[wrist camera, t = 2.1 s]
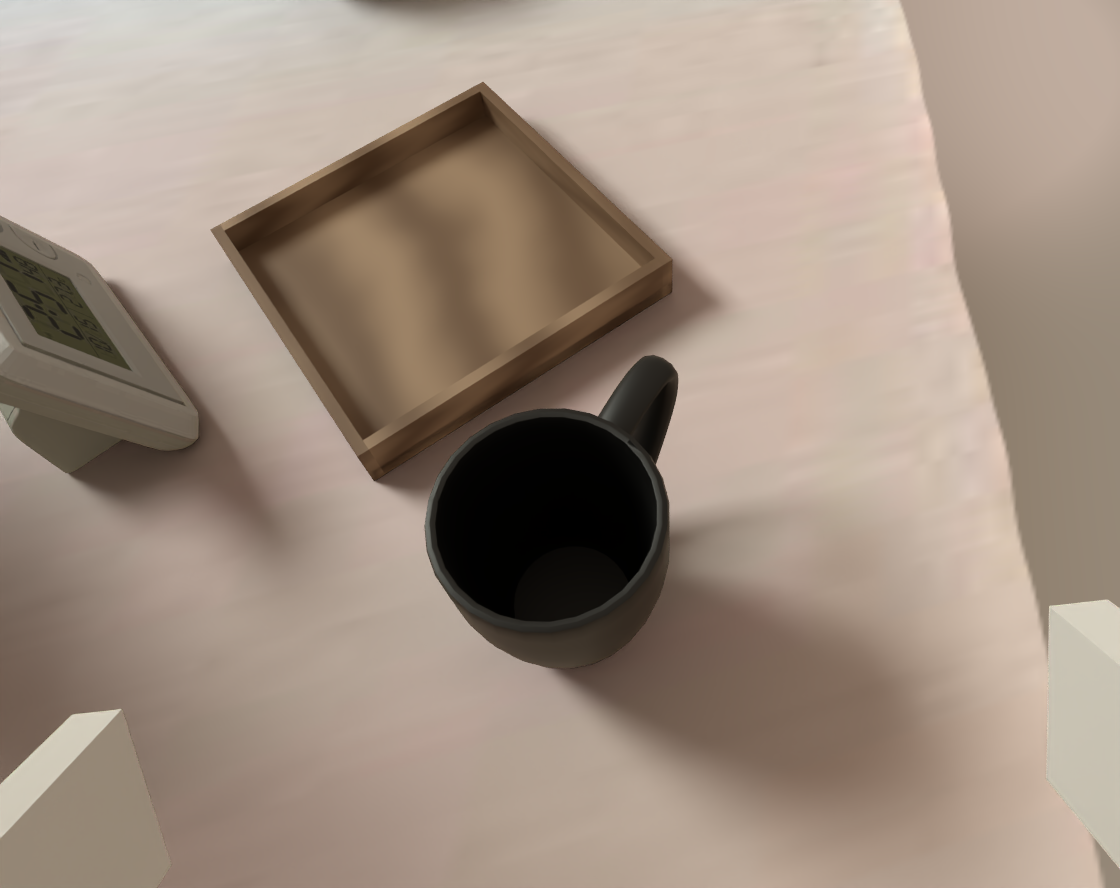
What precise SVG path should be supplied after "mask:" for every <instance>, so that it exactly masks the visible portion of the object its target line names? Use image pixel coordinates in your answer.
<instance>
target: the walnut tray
mask: <svg viewBox="0 0 1120 888" xmlns="http://www.w3.org/2000/svg"><path fill="white" fill-rule="evenodd" d="M211 232H212V233H213V235H214V236H215V238H216V239H217V241H218V242H219V244H220V245H221V247H222V249H223V250H224V252H225V253H226V255H227V256H228V258H229V259H230V261H231V262H232V264H233V266H234V267H235V269H236V270H237V272H238V273H239V275H240V276H241V278H242V279H243V281H244V282H245V284H246V286H247V287H248V289H249V290H250V292H251V293H252V295H253V296H254V298H255V299H256V301H257V303H258V304H259V306H260V307H261V309H262V310H263V312H264V313H265V315H266V316H267V318H268V320H269V321H270V323H271V324H272V326H273V327H274V329H275V330H276V332H277V333H278V335H279V336H280V338H281V340H282V341H283V343H284V344H285V346H286V347H287V349H288V350H289V352H290V353H291V355H292V357H293V358H294V360H295V361H296V363H297V364H298V366H299V367H300V369H301V370H302V372H303V374H304V375H305V377H306V378H307V380H308V381H309V383H310V384H311V386H312V387H313V389H314V390H315V392H316V394H317V395H318V397H319V398H320V400H321V401H322V403H323V404H324V406H325V407H326V409H327V411H328V412H329V414H330V415H331V417H332V418H333V420H334V421H335V423H336V424H337V426H338V428H339V429H340V431H341V432H342V434H343V435H344V437H345V438H346V440H347V441H348V443H349V444H350V446H351V448H352V449H353V451H354V452H355V454H356V455H357V457H358V458H359V460H360V461H361V463H362V464H363V466H364V467H365V468H366V470H367V471H368V473H369V474H370V476H371V477H372V479H373V480H374V481H375V480H377V479H378V478H380V477H382V476H383V475H385V474H386V473H388V472H389V471H391V470H393V469H394V468H396V467H397V466H399V465H400V464H402V463H404V462H405V461H407V460H408V459H410V458H411V457H413V456H415V455H416V454H418V453H419V452H421V451H423V450H424V449H426V448H427V447H429V446H430V445H432V444H434V443H435V442H437V441H438V440H440V439H441V438H443V437H445V436H446V435H448V434H449V433H451V432H452V431H454V430H456V429H457V428H459V427H460V426H462V425H463V424H465V423H467V422H468V421H470V420H471V419H473V418H474V417H476V416H478V415H479V414H481V413H482V412H484V411H485V410H487V409H489V408H490V407H492V406H493V405H495V404H496V403H498V402H500V401H501V400H503V399H504V398H506V397H507V396H509V395H511V394H512V393H514V392H515V391H517V390H518V389H520V388H522V387H523V386H525V385H526V384H528V383H529V382H531V381H533V380H534V379H536V378H537V377H539V376H540V375H542V374H544V373H545V372H547V371H548V370H550V369H551V368H553V367H555V366H556V365H558V364H559V363H561V362H562V361H564V360H566V359H567V358H569V357H570V356H572V355H573V354H575V353H577V352H578V351H580V350H581V349H583V348H584V347H586V346H588V345H589V344H591V343H592V342H594V341H595V340H597V339H599V338H600V337H602V336H603V335H605V334H606V333H608V332H610V331H611V330H613V329H614V328H616V327H618V326H619V325H621V324H622V323H624V322H625V321H627V320H629V319H630V318H632V317H633V316H635V315H636V314H638V313H640V312H641V311H643V310H644V309H646V308H647V307H649V306H651V305H652V304H654V303H655V302H657V301H658V300H660V299H662V298H663V297H665V296H666V295H668V294H669V293H671V292H672V259H671V258H670V257H669V256H668V255H667V254H666V253H665V252H664V251H663V250H662V249H661V248H660V247H659V246H658V245H656V244H655V243H654V242H653V241H652V240H651V239H650V238H649V237H648V236H647V235H646V234H645V233H644V232H643V231H642V230H640V229H639V228H638V227H637V226H636V225H635V224H634V223H633V222H632V221H631V220H630V219H629V218H628V217H627V216H626V215H624V214H623V213H622V212H621V211H620V210H619V209H618V208H617V207H616V206H615V205H614V204H613V203H612V202H611V201H610V200H609V199H607V198H606V197H605V196H604V195H603V194H602V193H601V192H600V191H599V190H598V189H597V188H596V187H595V186H594V185H593V184H591V183H590V182H589V181H588V180H587V179H586V178H585V177H584V176H583V175H582V174H581V173H580V172H579V171H578V170H577V169H576V168H574V167H573V166H572V165H571V164H570V163H569V162H568V161H567V160H566V159H565V158H564V157H563V156H562V155H561V154H560V153H558V152H557V151H556V150H555V149H554V148H553V147H552V146H551V145H550V144H549V143H548V142H547V141H546V140H545V139H544V138H542V137H541V136H540V135H539V134H538V133H537V132H536V131H535V130H534V129H533V128H532V127H531V126H530V125H529V124H528V123H527V122H525V121H524V120H523V119H522V118H521V117H520V116H519V115H518V114H517V113H516V112H515V111H514V110H513V109H512V108H511V107H509V106H508V105H507V104H506V103H505V102H504V101H503V100H502V99H501V98H500V97H499V96H498V95H497V94H496V93H495V92H494V91H492V90H491V89H490V88H489V87H488V86H487V85H486V84H485V83H484V82H482V83H480V84H478V85H476V86H474V87H473V88H471V89H469V90H467V91H465V92H463V93H461V94H460V95H458V96H456V97H454V98H452V99H450V100H449V101H447V102H445V103H443V104H441V105H439V106H438V107H436V108H434V109H432V110H430V111H428V112H426V113H425V114H423V115H421V116H419V117H417V118H415V119H414V120H412V121H410V122H408V123H406V124H404V125H402V126H401V127H399V128H397V129H395V130H393V131H391V132H390V133H388V134H386V135H384V136H382V137H380V138H379V139H377V140H375V141H373V142H371V143H369V144H367V145H366V146H364V147H362V148H360V149H358V150H356V151H355V152H353V153H351V154H349V155H347V156H345V157H344V158H342V159H340V160H338V161H336V162H334V163H332V164H331V165H329V166H327V167H325V168H323V169H321V170H320V171H318V172H316V173H314V174H312V175H310V176H308V177H307V178H305V179H303V180H301V181H299V182H297V183H296V184H294V185H292V186H290V187H288V188H286V189H285V190H283V191H281V192H279V193H277V194H275V195H273V196H272V197H270V198H268V199H266V200H264V201H262V202H261V203H259V204H257V205H255V206H253V207H251V208H249V209H248V210H246V211H244V212H242V213H240V214H238V215H237V216H235V217H233V218H231V219H229V220H227V221H226V222H224V223H222V224H220V225H218V226H216V227H214V228H213V229H211Z"/></svg>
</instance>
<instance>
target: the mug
mask: <svg viewBox="0 0 1120 888" xmlns="http://www.w3.org/2000/svg"><path fill="white" fill-rule="evenodd" d="M677 390H678V373H677V371H676V370H675V368H674V367H673V366H672V364H670V363H669V362H668V361H666V360H665V359H663V358H661V357H658V356H655V355H651V356H644V357H643V358H641V359H640V360H639V361H638V362H637V363H636V364H635V365H634V366H633V367H632V368H631V369H630V370H629V371H628V373H627V374H626V375H625V377H624V378H623V379H622V381H621V382H620V383H619V385H618V386H617V388H616V389H615V391H614V392H613V394H612V395H611V397H610V398H609V400H608V401H607V403H606V405H605V406H604V408H603V409H602V411H601V413H600V414H599V416H598V417H597V416H595V415H593V414H590V413H586V412H580V411H575V410H570V409H537V410H532V411H527V412H522V413H517V414H513V415H511V416H509V417H506V418H504V419H501V420H499V421H496V422H494V423H492V424H490V425H488V426H487V427H485V428H484V429H482V430H481V431H479V432H478V433H476V434H475V435H473V436H472V437H470V438H469V439H468V440H467V441H466V442H465V443H464V444H463V445H462V446H461V447H460V448H459V449H458V450H457V451H456V452H455V453H454V454H453V455H452V456H451V457H450V459H449V460H448V462H447V463H446V465H445V466H444V468H443V469H442V471H441V472H440V474H439V475H438V477H437V479H436V482H435V485H434V487H433V490H432V492H431V495H430V497H429V500H428V506H427V513H426V520H425V537H426V548H427V553H428V556H429V559H430V562H431V565H432V568H433V570H434V573H435V576H436V577H437V579H438V580H439V582H440V583H441V585H442V586H443V588H444V589H445V591H446V592H447V594H448V595H449V597H450V598H451V600H452V601H453V602H454V604H455V605H456V607H457V608H458V609H459V611H460V612H461V614H462V615H463V616H464V618H465V619H466V620H467V622H468V623H469V624H470V625H471V626H472V627H473V628H474V629H475V630H476V631H477V632H479V633H480V634H481V635H482V636H483V637H484V638H485V639H486V640H487V641H489V642H490V643H491V644H493V645H494V646H495V647H497V648H499V649H501V650H503V651H504V652H506V653H508V654H510V655H512V656H514V657H516V658H518V659H520V660H522V661H525V662H528V663H532V664H536V665H540V666H543V667H548V668H576V667H581V666H587V665H592V664H594V663H596V662H598V661H601V660H603V659H605V658H607V657H609V656H611V655H613V654H614V653H615V652H617V651H618V650H619V649H621V648H622V647H623V646H625V645H626V644H627V643H628V642H629V641H630V640H631V639H632V638H633V637H634V636H635V634H636V633H637V632H638V631H639V630H640V628H641V627H642V626H643V625H644V624H645V622H646V621H647V619H648V617H649V616H650V614H651V612H652V610H653V608H654V606H655V604H656V602H657V600H658V598H659V596H660V593H661V590H662V587H663V584H664V579H665V575H666V571H667V567H668V563H669V500H668V496H667V492H666V489H665V485H664V481H663V478H662V476H661V474H660V472H659V470H658V469H657V467H656V462H657V459H658V456H659V453H660V451H661V448H662V445H663V442H664V438H665V435H666V432H667V429H668V426H669V423H670V420H671V416H672V413H673V409H674V405H675V401H676V397H677Z"/></svg>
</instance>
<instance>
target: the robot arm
mask: <svg viewBox="0 0 1120 888" xmlns="http://www.w3.org/2000/svg"><path fill="white" fill-rule="evenodd" d="M1046 780H1047V781H1048V782H1049V783H1050V784H1051V786H1052V787H1053V788H1054V789H1055V790H1056V792H1057V793H1058V794H1059V795H1060V797H1061V798H1062V799H1063V800H1064V801H1065V803H1066V804H1067V805H1068V806H1069V808H1070V809H1071V810H1072V811H1073V812H1074V814H1075V815H1076V816H1077V817H1078V819H1079V820H1080V821H1081V822H1082V823H1083V825H1084V826H1085V827H1086V828H1087V829H1088V831H1089V832H1090V833H1091V834H1092V836H1093V837H1094V838H1095V839H1096V840H1097V842H1098V843H1099V844H1100V845H1101V847H1102V848H1103V849H1104V850H1105V851H1106V853H1107V854H1108V855H1109V856H1110V858H1111V859H1112V860H1113V861H1114V862H1115V864H1116V865H1117V866H1118V867H1119V869H1120V608H1118V607H1117V606H1115V605H1114V604H1113V603H1112V602H1110V601H1109V600H1100V601H1091V602H1082V603H1073V604H1064V605H1055V606H1049V649H1048V712H1047V775H1046ZM171 865H172V864H171V861H170V858H169V855H168V852H167V849H166V846H165V842H164V839H163V836H162V833H161V830H160V827H159V823H158V820H157V817H156V814H155V811H154V808H153V805H152V801H151V798H150V795H149V792H148V789H147V786H146V782H145V779H144V776H143V773H142V770H141V767H140V764H139V760H138V757H137V754H136V751H135V748H134V745H133V741H132V738H131V735H130V732H129V729H128V726H127V723H126V719H125V716H124V713H123V710H122V709H117V710H108V711H99V712H90V713H81V714H72V715H71V716H70V717H69V718H68V719H67V720H66V721H65V722H64V723H63V724H62V725H61V726H60V727H59V728H58V729H57V730H56V731H55V732H54V733H53V734H52V735H50V736H49V737H48V738H47V739H46V740H45V741H44V742H43V743H42V744H41V745H40V746H39V747H38V748H37V749H36V750H35V751H34V752H33V753H32V754H31V755H30V756H29V757H28V758H27V759H26V760H25V761H24V762H23V763H22V764H21V765H20V766H19V767H18V768H17V769H15V770H14V771H13V772H12V773H11V774H10V775H9V776H8V777H7V778H6V779H5V780H4V781H3V782H2V783H1V784H0V888H157V887H158V886H159V884H160V882H161V881H162V879H163V878H164V876H165V875H166V873H167V871H168V870H169V868H170V867H171Z"/></svg>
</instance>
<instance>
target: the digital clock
mask: <svg viewBox="0 0 1120 888" xmlns="http://www.w3.org/2000/svg"><path fill="white" fill-rule="evenodd" d="M0 410H1V412H2V414H3V416H4V418H5V420H6V421H7V423H8V425H9V427H10V429H11V431H12V432H13V434H14V435H15V436H16V437H17V438H18V439H19V440H21V441H22V442H23V443H24V444H26V445H27V446H29V447H30V448H31V449H33V450H34V451H36V452H37V453H38V454H40V455H41V456H42V457H44V458H45V459H47V460H48V461H49V462H51V463H52V464H54V465H55V466H56V467H58V468H59V469H61V470H62V471H63V472H65V473H72V472H74V471H76V470H77V469H79V468H81V467H82V466H83V465H85V464H86V463H88V462H89V461H91V460H92V459H94V458H95V457H97V456H98V455H100V454H101V453H103V452H104V451H106V450H107V449H109V448H110V447H112V446H113V445H115V444H116V443H118V442H119V441H121V440H122V439H123V440H126V441H130V442H133V443H137V444H140V445H143V446H147V447H150V448H154V449H158V450H164V451H171V450H178V449H183V448H186V447H188V446H190V445H191V444H193V443H194V442H195V441H196V440H197V439H198V437H199V418H198V412H197V410H196V408H195V407H194V405H193V404H192V402H191V401H190V400H189V398H188V397H187V395H186V394H185V392H184V391H183V389H182V388H181V387H180V385H179V384H178V382H177V381H176V380H175V378H174V377H173V376H172V374H171V373H170V371H169V370H168V369H167V367H166V366H165V364H164V363H163V362H162V360H161V359H160V357H159V356H158V355H157V353H156V352H155V350H154V349H153V348H152V346H151V345H150V343H149V342H148V341H147V339H146V338H145V336H144V335H143V334H142V332H141V331H140V329H139V328H138V327H137V325H136V324H135V322H134V321H133V320H132V318H131V317H130V316H129V314H128V313H127V311H126V310H125V309H124V307H123V306H122V304H121V303H120V302H119V300H118V299H117V297H116V296H115V295H114V293H113V292H112V290H111V289H110V288H109V286H108V285H107V283H106V282H105V281H104V279H103V278H102V277H101V275H100V274H99V273H98V271H97V270H96V269H95V268H94V267H93V266H92V264H90V263H89V262H88V261H87V260H85V259H83V258H82V257H80V256H79V255H77V254H75V253H73V252H71V251H69V250H67V249H65V248H63V247H61V246H59V245H57V244H55V243H53V242H51V241H49V240H47V239H45V238H43V237H41V236H39V235H37V234H35V233H33V232H31V231H29V230H27V229H25V228H23V227H22V226H20V225H18V224H16V223H14V222H12V221H10V220H8V219H6V218H4V217H2V216H0Z"/></svg>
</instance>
